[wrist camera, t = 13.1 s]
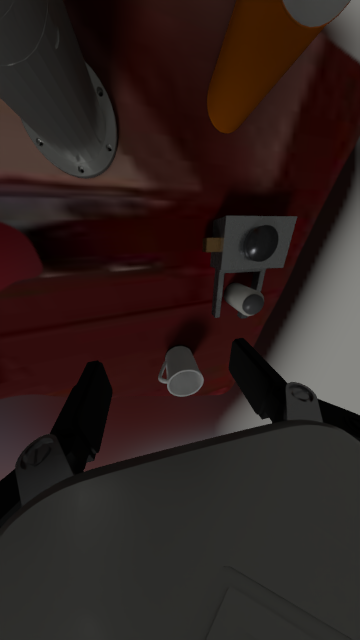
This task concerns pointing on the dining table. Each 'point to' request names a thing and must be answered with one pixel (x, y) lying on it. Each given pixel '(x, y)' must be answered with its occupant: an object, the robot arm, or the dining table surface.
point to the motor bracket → (247, 248)
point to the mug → (181, 372)
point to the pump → (243, 299)
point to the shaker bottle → (261, 52)
